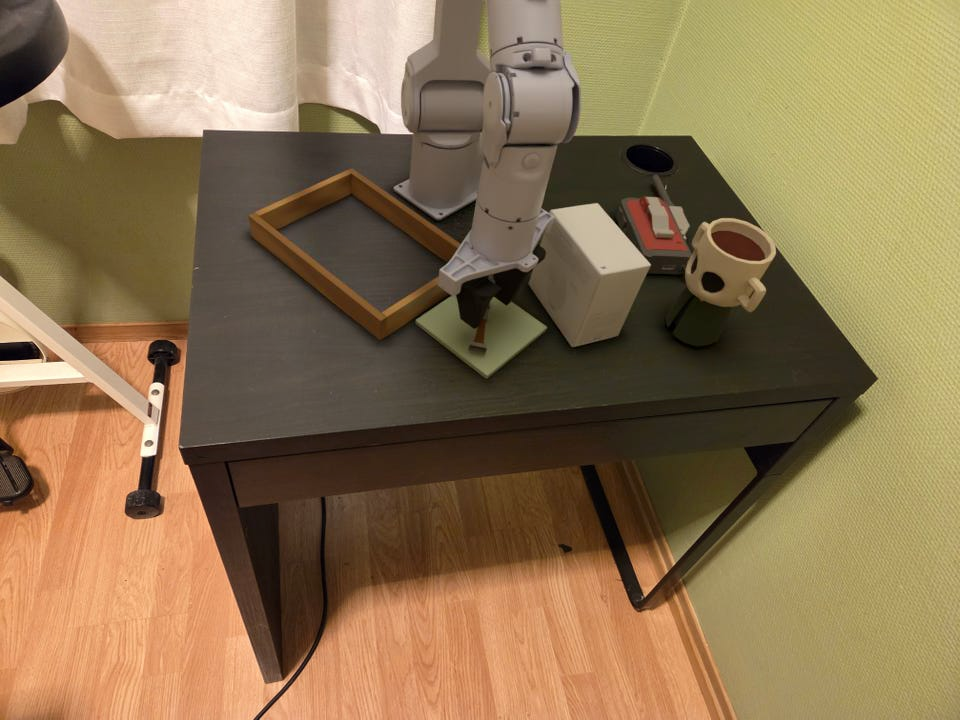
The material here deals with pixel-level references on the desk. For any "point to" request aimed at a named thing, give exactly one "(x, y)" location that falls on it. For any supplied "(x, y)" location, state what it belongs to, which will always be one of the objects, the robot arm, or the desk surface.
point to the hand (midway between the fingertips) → (485, 310)
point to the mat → (503, 333)
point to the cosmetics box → (587, 274)
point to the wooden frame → (326, 283)
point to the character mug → (720, 278)
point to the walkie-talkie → (656, 230)
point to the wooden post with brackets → (481, 332)
